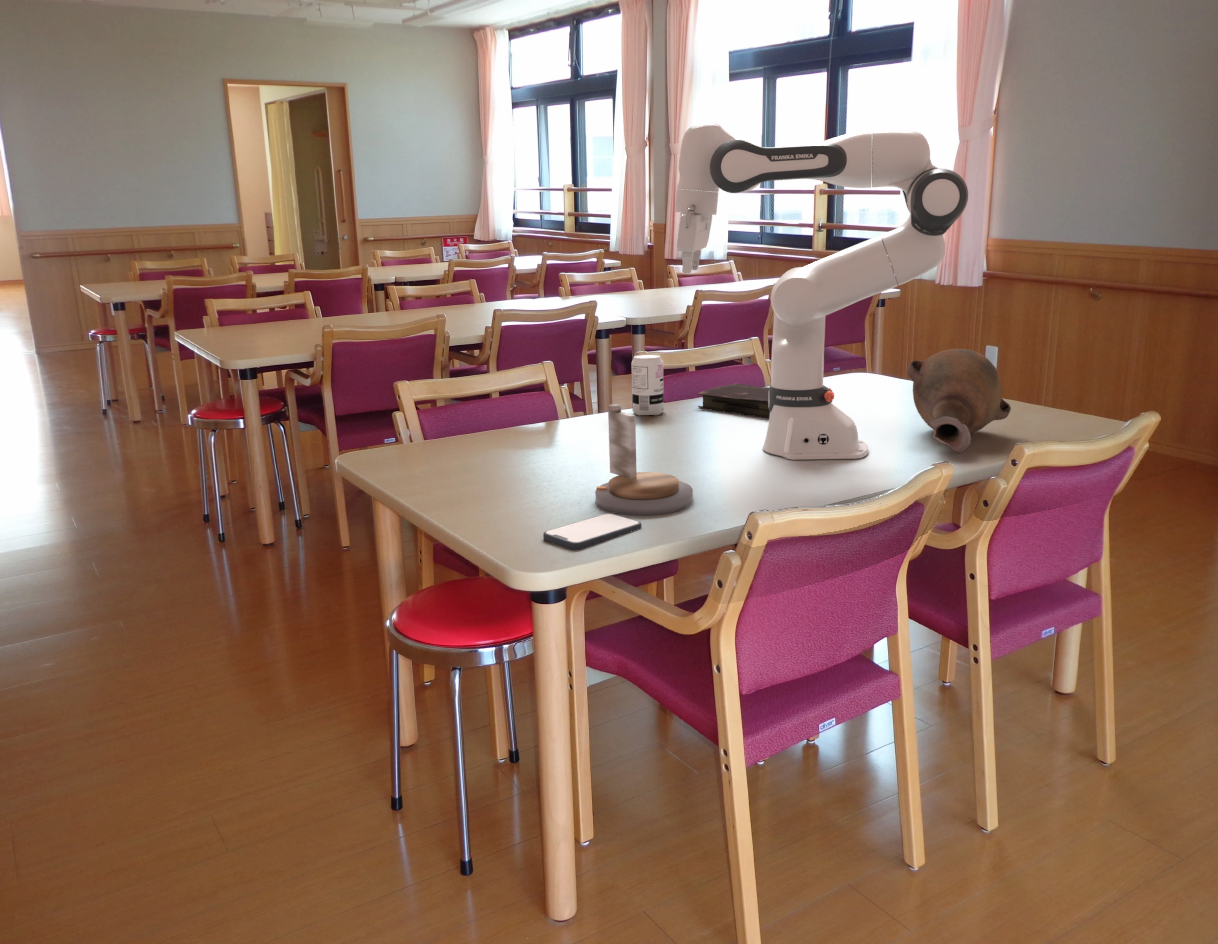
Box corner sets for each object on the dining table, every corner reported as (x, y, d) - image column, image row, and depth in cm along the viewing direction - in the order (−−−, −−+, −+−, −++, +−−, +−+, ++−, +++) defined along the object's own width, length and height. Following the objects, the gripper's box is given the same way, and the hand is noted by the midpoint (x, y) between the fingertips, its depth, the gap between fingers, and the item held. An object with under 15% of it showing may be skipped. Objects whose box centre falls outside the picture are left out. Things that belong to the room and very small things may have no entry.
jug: (927, 421, 241) (905, 472, 217) (912, 345, 235) (888, 388, 210) (1016, 410, 231) (1004, 462, 206) (1003, 330, 225) (988, 374, 200)
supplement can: (630, 410, 263) (629, 354, 259) (661, 409, 264) (660, 353, 260) (634, 417, 255) (632, 359, 251) (665, 415, 256) (665, 358, 252)
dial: (693, 489, 182) (693, 411, 178) (639, 503, 174) (638, 422, 171) (638, 473, 194) (636, 399, 190) (585, 486, 186) (582, 409, 183)
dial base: (699, 489, 190) (699, 476, 190) (684, 517, 173) (684, 504, 173) (608, 485, 194) (607, 473, 194) (584, 513, 177) (584, 500, 177)
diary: (737, 399, 277) (737, 381, 275) (814, 409, 260) (815, 390, 259) (695, 410, 264) (695, 392, 262) (774, 422, 247) (775, 402, 246)
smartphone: (608, 520, 175) (539, 541, 164) (608, 512, 175) (539, 532, 164) (644, 531, 169) (575, 553, 158) (644, 522, 169) (575, 544, 158)
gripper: (704, 206, 198) (697, 276, 202) (717, 205, 218) (711, 269, 221) (673, 204, 200) (667, 273, 204) (688, 203, 219) (683, 267, 223)
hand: (690, 271), depth 213 cm, fingers open, 8 cm apart
